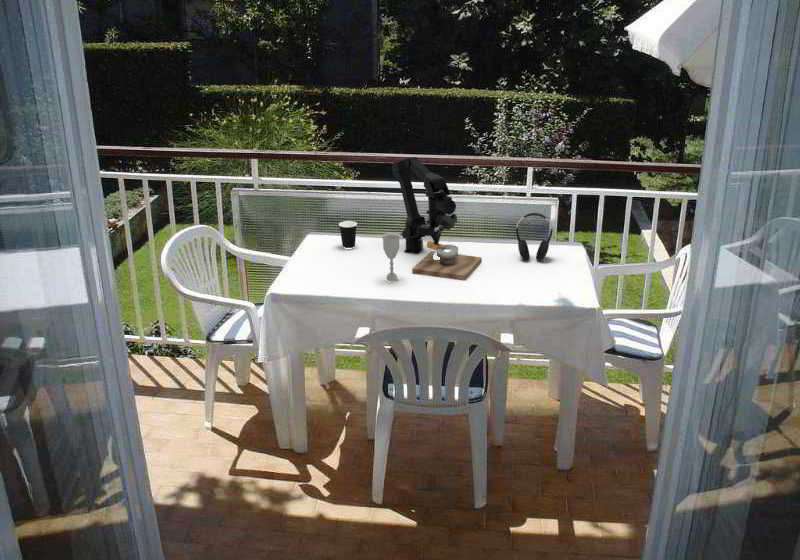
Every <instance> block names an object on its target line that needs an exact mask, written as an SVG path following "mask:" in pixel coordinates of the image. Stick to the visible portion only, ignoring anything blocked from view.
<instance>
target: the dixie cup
mask: <svg viewBox="0 0 800 560" xmlns="http://www.w3.org/2000/svg"><path fill="white" fill-rule="evenodd" d="M357 225H358V223H357V222H356V221H353V220H352V221H351V220H347V221H341V222H339V223H338V226H339V231H340V236H341V237H340V238H341V244H342V247H345V248H353V247H354V248H355V247H356V237H357Z"/></svg>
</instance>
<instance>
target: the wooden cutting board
mask: <svg viewBox="0 0 800 560" xmlns="http://www.w3.org/2000/svg"><path fill="white" fill-rule="evenodd" d="M435 252H436V251H435V250H434V251H433V250H430V252H429V253H427V254H426V255H425V256H424V257H423V258H422V259H421V260H420V261H419V262H417V264H416V265H415V266H414V267H412V270H411V272H412V274H415V275H423V276H429V277H437V278H445V279H450V280H451V279H452V280H458V281H459V280H460V281H466V280H467V279H468V278H469V277H470V276H471V275H472V273H474V271H475V270H476V268H478V267H479V265H481V263H482V262H483V261H482V259H483V258H482V256H481V257H480V256H473V255H465V254H460V253H458V256H457V257H456V258H452V259H444V258H440V260H434V259H433V255H434V253H435Z"/></svg>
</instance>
